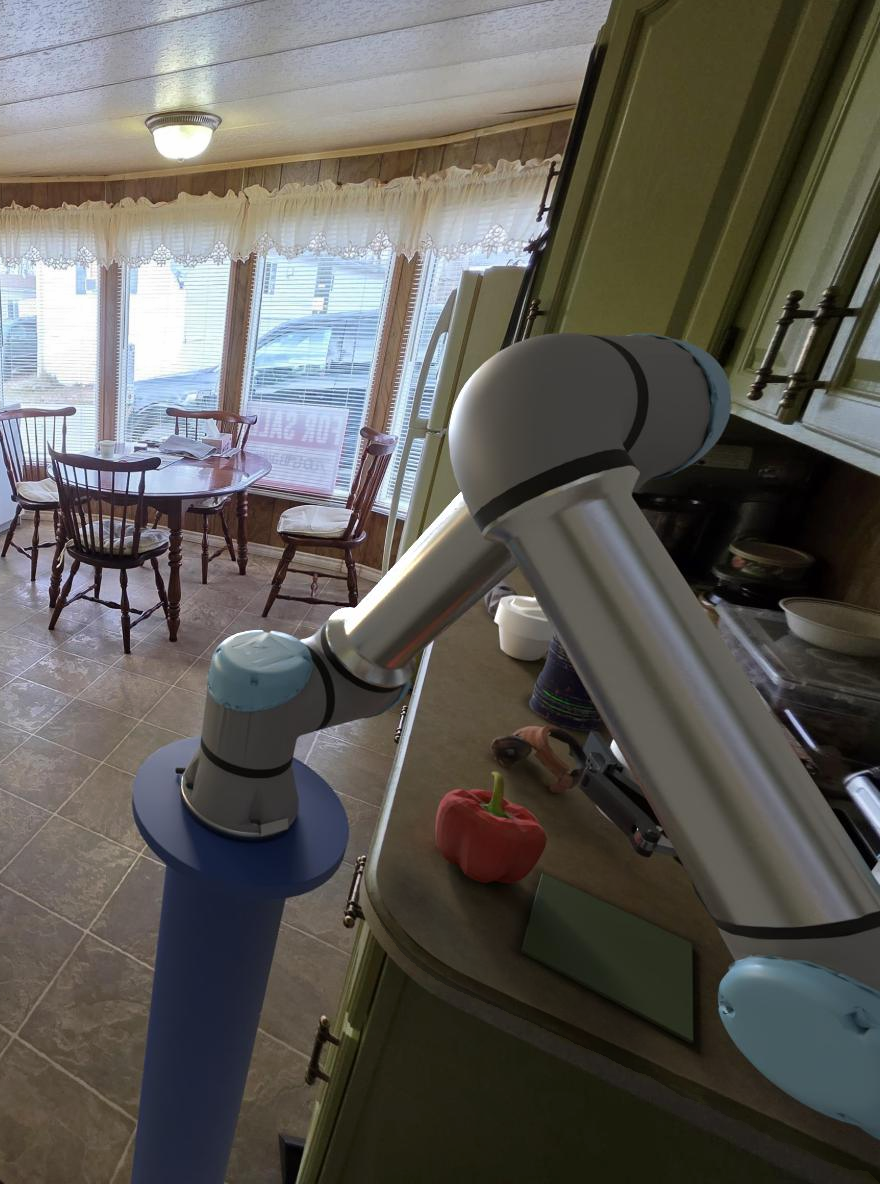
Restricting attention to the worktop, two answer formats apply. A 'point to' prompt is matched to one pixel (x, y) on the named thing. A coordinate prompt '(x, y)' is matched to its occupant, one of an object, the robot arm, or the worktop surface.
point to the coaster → (613, 955)
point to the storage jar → (563, 693)
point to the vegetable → (488, 834)
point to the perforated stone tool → (497, 597)
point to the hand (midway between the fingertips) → (646, 751)
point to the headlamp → (542, 752)
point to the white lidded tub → (523, 628)
